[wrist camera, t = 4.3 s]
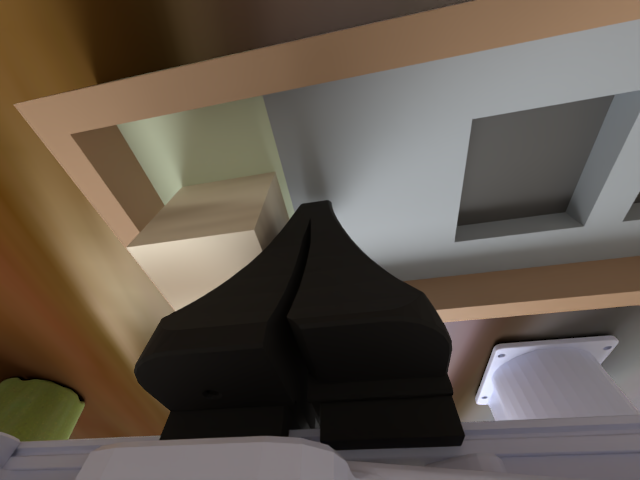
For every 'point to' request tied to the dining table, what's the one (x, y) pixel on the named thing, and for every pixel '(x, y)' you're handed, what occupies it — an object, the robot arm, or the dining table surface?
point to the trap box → (404, 146)
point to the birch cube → (209, 235)
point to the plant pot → (38, 410)
